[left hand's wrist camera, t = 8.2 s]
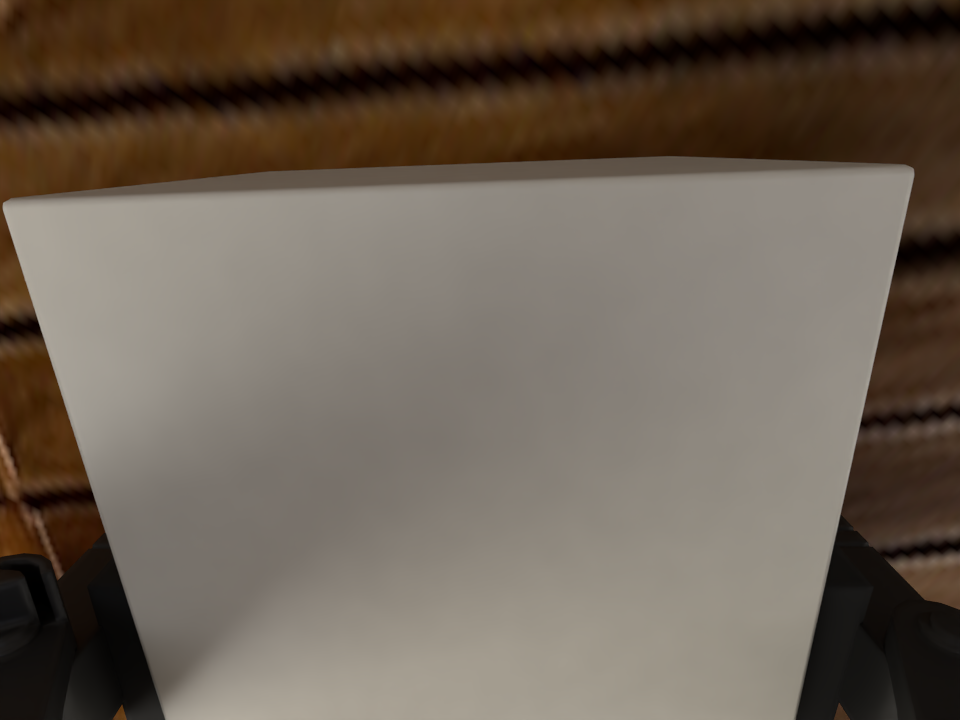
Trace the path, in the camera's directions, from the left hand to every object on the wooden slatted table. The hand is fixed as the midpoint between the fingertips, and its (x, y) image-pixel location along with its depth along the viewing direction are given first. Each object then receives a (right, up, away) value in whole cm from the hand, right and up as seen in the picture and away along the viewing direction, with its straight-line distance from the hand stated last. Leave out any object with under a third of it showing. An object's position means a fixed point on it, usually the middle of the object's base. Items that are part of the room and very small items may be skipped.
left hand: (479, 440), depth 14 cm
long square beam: (+1, -24, +9) cm, 26 cm away
